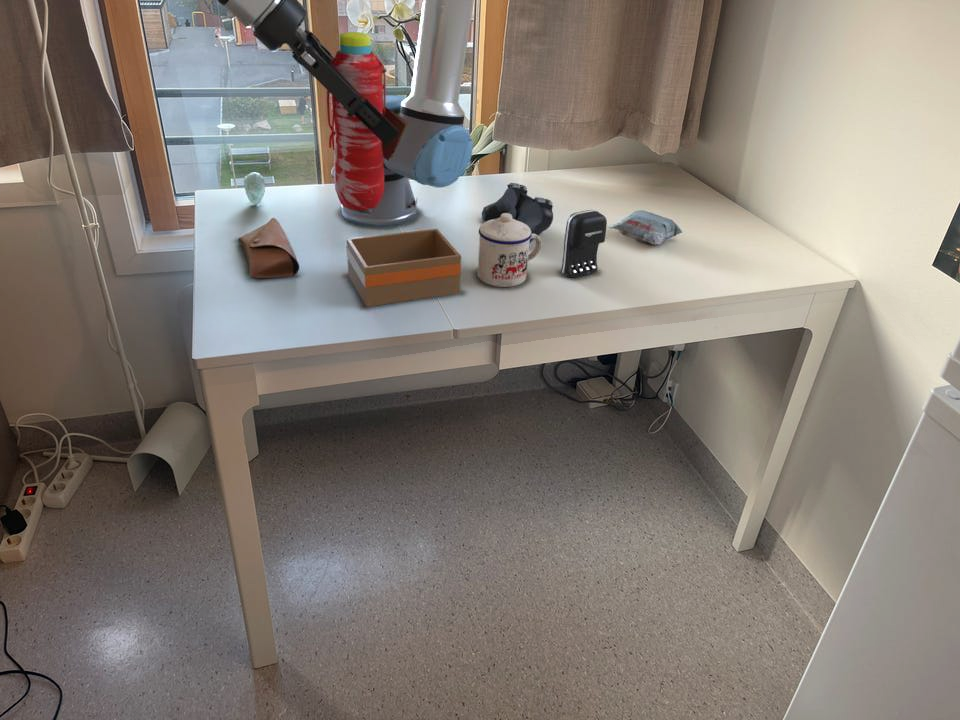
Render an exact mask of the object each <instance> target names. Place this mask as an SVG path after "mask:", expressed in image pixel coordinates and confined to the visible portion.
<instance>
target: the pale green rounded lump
mask: <svg viewBox="0 0 960 720" xmlns="http://www.w3.org/2000/svg"><path fill="white" fill-rule="evenodd" d="M243 187H244V192H245V194H246V197H247V199H248V201H249V202H250V203H251V204H252V205H254V206H256V205H259V204H260V203H261V202H262V201H263V198H264V195H265V191H266V181H265V178H264V177H263V175H261V173H259V172H256V171H253V172H250V173H249V174H247V175H244V176H243Z"/></svg>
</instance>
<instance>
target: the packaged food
mask: <svg viewBox="0 0 960 720" xmlns="http://www.w3.org/2000/svg"><path fill="white" fill-rule="evenodd" d="M609 229H614V230H617V231H618V232H619V233H620V234H621V235H623V236H626V237H628V238H632V239H635V240H638V241H640V242H643V243H647V244H651V245H654V246H656V245H657V246H658V245H661V244H663V243H664V241H666V240H669V239H671V238H673V237H676V236H677V235H680V234H682V233H683V230H682V229H681V228H680V226H679V225H678V224H677V223H676V222H675V221H674V220H673V219H671V218H668V217H665V216H662V215H659V214H655V212H654V213H653V212H651V211H648V210H644V209H642V210H635V211H633V212H632V213H630V214H629V215H627V216H626V217H624V218H623V219H622V220H620V222H617V223H614V224H611V225H609Z"/></svg>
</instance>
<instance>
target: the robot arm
mask: <svg viewBox="0 0 960 720" xmlns="http://www.w3.org/2000/svg"><path fill="white" fill-rule="evenodd" d="M217 2H218V3H219V4H220V5H221V6H223V7H224V8H225V10H227V14H226V15H227V17H228V19H229V20H234V19H235V18H236V20H237V21H238V22H239V23H240V24H242V26H244V28H245V29H250V28H252V31H251V32H252V36H253V37H254V38H255V39H257V41H258V42H260V43H261V44H262V46H264V47H265V48H266V49H267V50H268V51H269V52H272V53H275V52H277V51H278V50H279V49H281V48H282V46H283V45H285V44H286V45H287V46H288V47H289V48H290V50H291V53H292V56H291V57H292V58H293V59H294V60H295V61H296V62H297V63H298V64H299V65H301V67H303V68H304V69H305V70H306V71H307V72H308V73H310V75H311V76H312V77H313V78H315V80H317V82H318V83H320V84H321V85H322V87H324V89H325V90H326V91H327V90H328V91H329V94H330V93H331V94H332V95H333V96H334V97H335V98H336V99H337V100H338V101H339V102H340V103H341V104H342V105H343V106H344V107H345V108H346V109H347V111H348V112H349V113H348V114H347V115H348V116H349V117H350V118H351V117H352V116H353V115H355V116H356V117H357V118H358V119H359V120H360V121H361V122H362V123H363V124H365V125H366V126H367V127H368V128H369V129H370V130H371V131H372V132H373V133H374V134H375V135H376V136H377V137H378V138H379V139H380V140H381V141H382V142H383V143H384V144H385V145H386V146H387V145H388V144H389V143H390V142H391V141H392V140H393V139H394V138H395V137H396V136H397V135H398V134H399V131H398V130H397V129H396V128H395V127H394V126H393V125H392V124H391V123H390V122H389V121H388V120H387V119H386V118H385V117H384V116H383V115H382V114H381V113H380V112H379V111H378V110H377V109H376V108H375V107H374V106H373V105H372V104H371V103H370V102H369V101H368V100H367V99H366V100H365V98H364V97H363V96H361V95H360V94H359V93H358V92H357V91H356V90H355V88H354V87H353V86H352V85H351V84H350V83H349V82H348V81H347V80H346V79H345V78H344V77H343V76H342V74H341V73H340V72H339V71H338V70H337V69H336V68H335V67H334V66H333V64H332V63H333V58H335V56H334V55H333V54H332V53H331V52H330V51H329V50H328V48H327V47H326V46H325V45H324V44H322V43H321V42H320V39H319V38H318V37H317V35H315V34H314V32H312V31H310V30H308V29H302V27H301V26H302V24H303V23H304V21H305V20H306V18H307V15H308V11H307V10H308V9H306V7H305V6H304V5H303V4H302V3H301V2H300V1H299V0H217ZM474 3H475V0H422V5H421V13H420V21H419V27H418V37H417V44H416V51H415V59H414V67H413V75H412V81H411V90H410V94H409V95H408V96H407V97H404V96H401V95H391V94H390V95H389V94H388V95H387V94H386V108H388V109H389V110H391V111H393V112H394V113H396V114H397V115H399V116H400V117H402V118H403V119H405V120H407V121H408V122H409V124H408V126H407V128H406V130H405V132H404V134H403V136H402V138H401V140H400V142H399V145H398V147H397V149H396V151H395V153H394V155H393V157H392V158H391V157H390V159H389V161H388V160H386V159H385V158H384V157H383V166H384V193H383V196H382V199H381V202H380V203H379V204H378V205H377V206H376V207H375V208H373V209H369V210H359V211H358V210H351V209H348V208H346V207H343V206H342V205H341V215H342V217H343V218H344V219H345V220H346V221H348V222H351V223H354V224H356V225H360V226H366V227H375V228H377V227H379V228H383V227H385V228H386V227H394V226H395V227H396V226H400V225H403V224H406V223H408V222H410V221H412V220H414V219H415V218H416V216H417V207H418V198H415V195H414V192H413V189H412V186H411V182H410V180H413V181H415V182H416V183H418V184H420V185H423V186H429V187H432V188H437V189H438V188H439V189H440V188H445V187H446V188H447V187H448V186H451V185H453V184H454V183H455V182H456V181H458V180H459V178H460V177H461V176H463V175H464V173H465V172H466V170H467V168H468V166H469V164H470V162H471V159H472V155H473V150H474V149H473V148H474V146H473V145H474V143H473V139H472V138H471V134H470V132H469V131H468V130H467V129H466V128H465V127H464V122H465V117H466V116H465V114H466V113H465V111H464V110H463V109H462V107H461V105H460V103H459V100H460V92H461V88H462V87H461V86H462V80H463V73H464V67H465V61H466V55H467V47H468V42H469V35H470V30H471V29H470V28H471V22H472V16H473V10H474ZM353 98H354V99H353ZM352 99H353V100H352ZM351 100H352V101H351ZM350 101H351V102H350ZM349 102H350V103H349ZM383 103H384V94H383ZM330 176H331V177H332V178H333V179H334V166H333V167H332V169H331V171H330ZM409 179H410V180H409Z"/></svg>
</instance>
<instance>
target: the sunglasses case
mask: <svg viewBox="0 0 960 720" xmlns="http://www.w3.org/2000/svg"><path fill="white" fill-rule="evenodd" d="M237 240H238V242H239V243H240V244H241V246H242V248H243V251H244V253H245V256H246V260H247V263H248V269H249V277H250V278H253V279H278V278H288V277H294V276H295V275H297V274H298V272H299V270H300V264H299V262H298V259H297V255H296V254H295V251H294V249H293V246H292V244H291V243H290V240H289V238H288V235H287V234H286V232H285V230H284V228H283V227H282V225H281V223H280V221H279V220H278V219H276V218H275V217H271V219H269V220H268V221H267V222H266V223H264V224H263V225H261V226H258V227H257V228H255V229H253V230H251V231H249V232H248V233H245V234H244V235H242V236H239V237H238V238H237Z"/></svg>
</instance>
